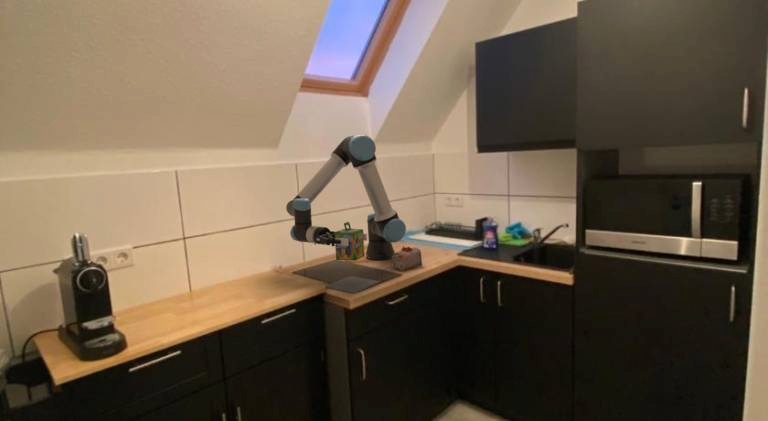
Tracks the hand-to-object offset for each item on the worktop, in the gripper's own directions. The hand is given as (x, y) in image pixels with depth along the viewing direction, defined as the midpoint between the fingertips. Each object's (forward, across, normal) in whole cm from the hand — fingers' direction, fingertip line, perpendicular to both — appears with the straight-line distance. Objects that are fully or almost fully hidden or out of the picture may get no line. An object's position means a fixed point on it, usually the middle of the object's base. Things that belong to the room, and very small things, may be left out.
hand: (357, 239), depth 170 cm
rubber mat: (-4, 0, -19) cm, 20 cm away
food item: (+1, -33, -20) cm, 39 cm away
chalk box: (-4, 0, -8) cm, 9 cm away
